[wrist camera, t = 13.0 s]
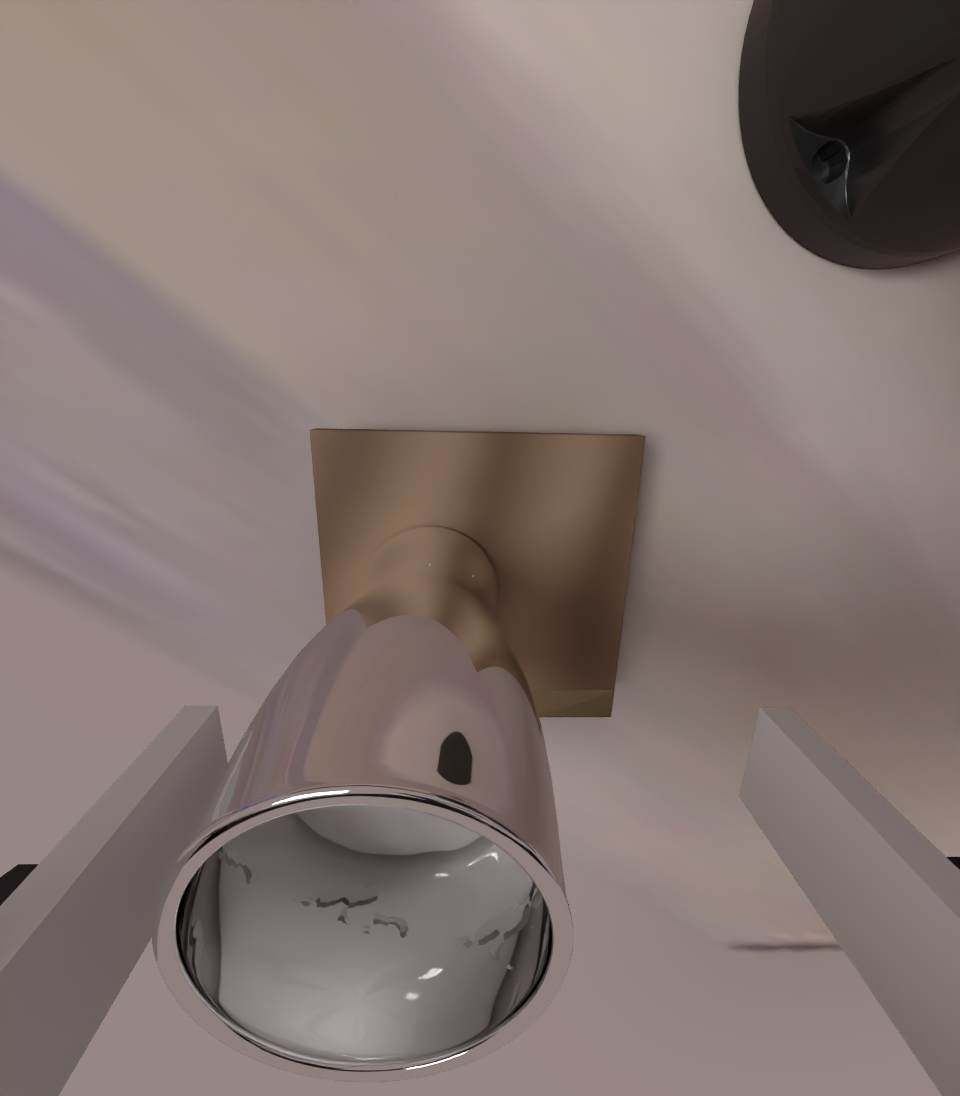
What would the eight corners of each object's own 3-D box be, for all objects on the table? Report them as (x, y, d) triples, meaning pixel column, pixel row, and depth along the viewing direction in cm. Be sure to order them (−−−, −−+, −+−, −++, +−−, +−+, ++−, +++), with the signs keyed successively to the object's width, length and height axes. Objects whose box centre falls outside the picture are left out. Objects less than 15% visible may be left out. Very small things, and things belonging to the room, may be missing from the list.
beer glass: (506, 654, 23) (576, 1083, 8) (361, 657, 23) (183, 1101, 8) (507, 514, 21) (602, 769, 6) (348, 516, 21) (80, 784, 6)
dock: (616, 430, 24) (645, 436, 20) (590, 673, 28) (610, 717, 24) (335, 424, 23) (309, 429, 19) (352, 673, 27) (334, 717, 24)
